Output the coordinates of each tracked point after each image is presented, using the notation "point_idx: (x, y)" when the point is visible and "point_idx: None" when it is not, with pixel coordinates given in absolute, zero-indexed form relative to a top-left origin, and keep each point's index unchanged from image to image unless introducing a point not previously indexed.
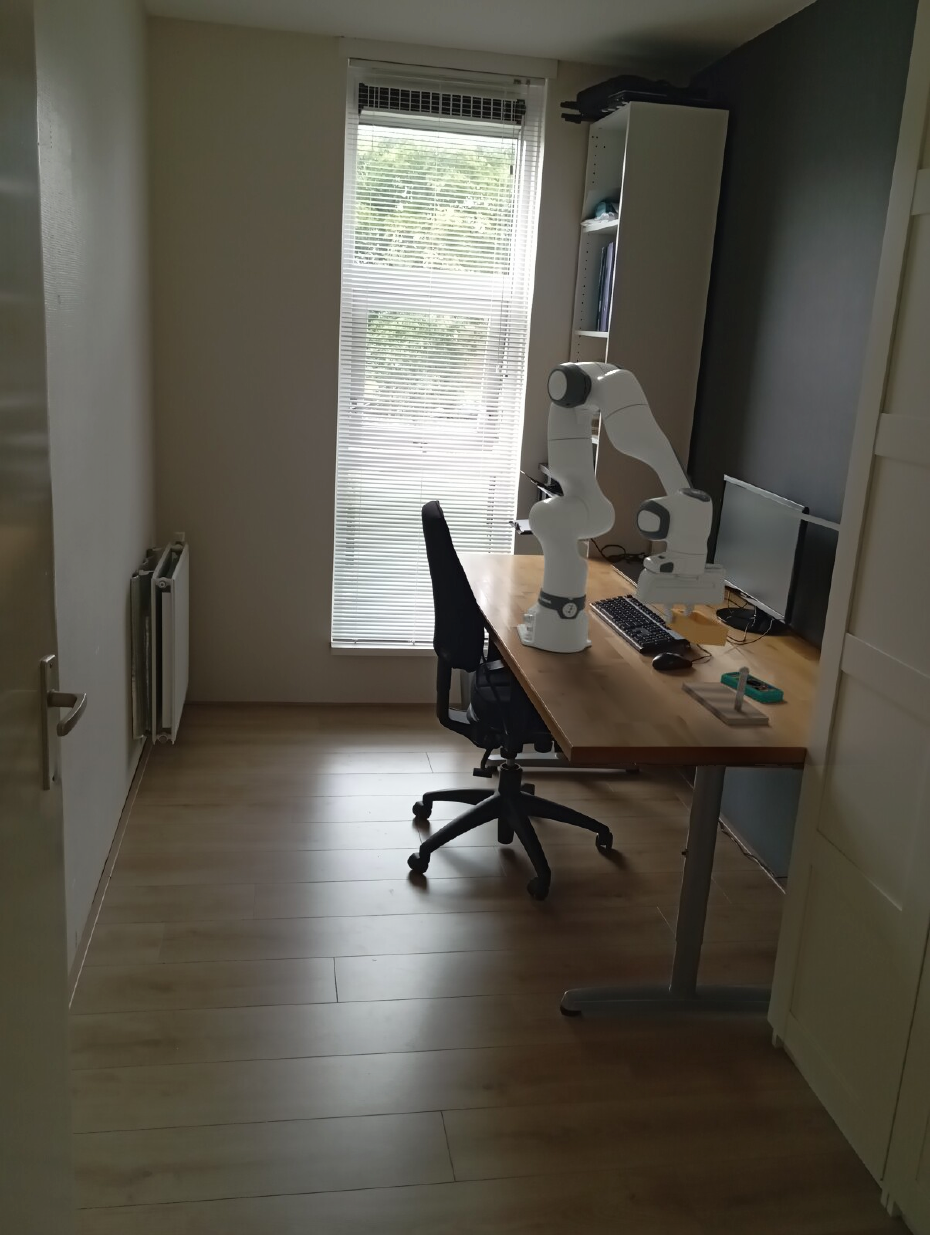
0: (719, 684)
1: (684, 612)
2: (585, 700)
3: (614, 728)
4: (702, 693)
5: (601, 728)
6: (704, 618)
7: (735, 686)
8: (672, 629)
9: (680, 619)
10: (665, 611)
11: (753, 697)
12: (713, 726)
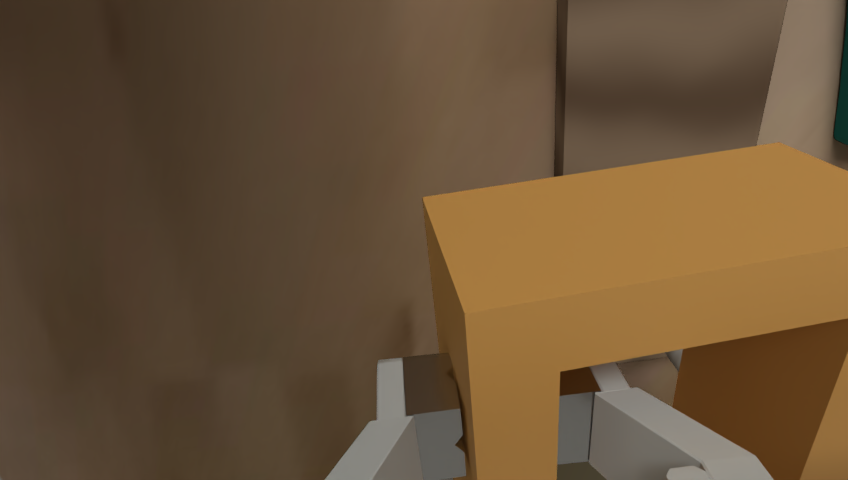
0: (764, 3)
1: (620, 431)
2: (31, 205)
3: (149, 419)
4: (593, 147)
5: (105, 424)
6: (788, 461)
7: None
8: (438, 341)
9: None
10: (348, 452)
11: (842, 101)
12: None
